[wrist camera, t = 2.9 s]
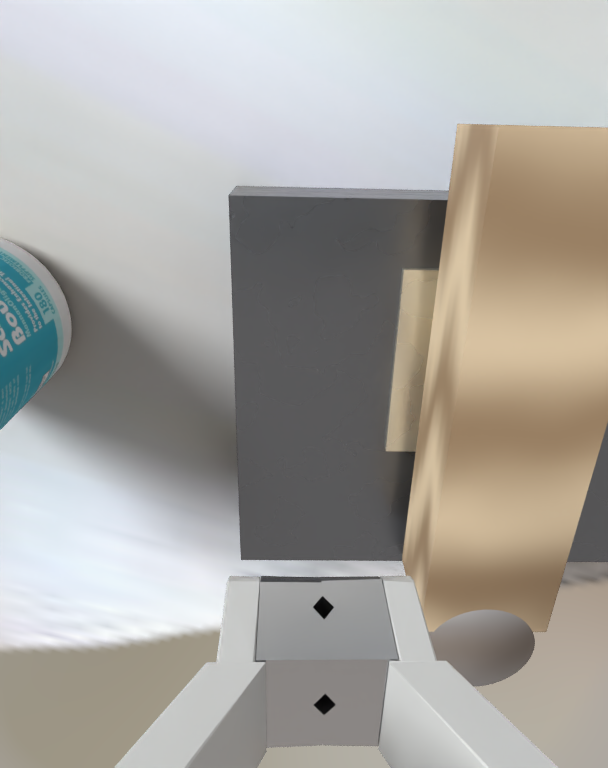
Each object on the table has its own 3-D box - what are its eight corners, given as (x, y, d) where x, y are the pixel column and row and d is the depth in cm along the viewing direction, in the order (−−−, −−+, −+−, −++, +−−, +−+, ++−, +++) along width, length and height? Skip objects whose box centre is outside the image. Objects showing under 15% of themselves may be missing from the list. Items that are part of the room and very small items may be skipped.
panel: (719, 196, 23) (802, 212, 19) (608, 537, 31) (652, 595, 27) (236, 186, 23) (225, 199, 19) (246, 534, 30) (239, 593, 27)
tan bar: (498, 610, 27) (530, 686, 23) (395, 610, 27) (411, 686, 23) (612, 127, 18) (693, 129, 14) (457, 123, 18) (498, 125, 14)
